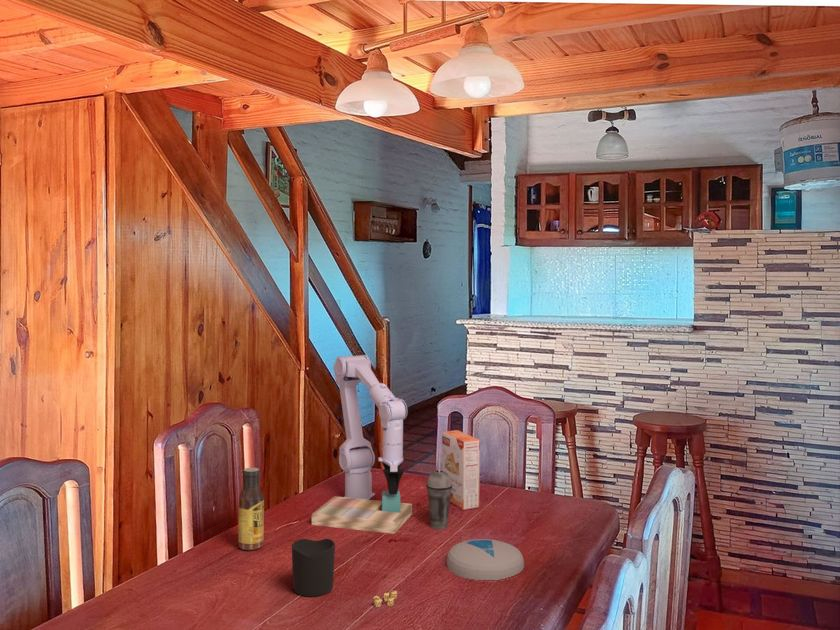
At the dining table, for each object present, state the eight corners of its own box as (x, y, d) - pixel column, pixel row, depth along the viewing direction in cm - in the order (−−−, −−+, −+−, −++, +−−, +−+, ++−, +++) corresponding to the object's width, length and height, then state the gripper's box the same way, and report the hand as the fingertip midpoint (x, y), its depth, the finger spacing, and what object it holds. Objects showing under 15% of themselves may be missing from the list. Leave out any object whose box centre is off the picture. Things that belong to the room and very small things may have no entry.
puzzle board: (311, 524, 203) (311, 514, 202) (334, 506, 218) (334, 496, 218) (394, 533, 196) (394, 522, 196) (411, 514, 212) (411, 503, 212)
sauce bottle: (257, 552, 182) (256, 474, 181) (234, 550, 184) (233, 472, 182) (268, 543, 189) (267, 467, 188) (245, 541, 190) (244, 465, 189)
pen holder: (314, 576, 169) (314, 533, 168) (343, 587, 163) (343, 543, 162) (282, 589, 162) (282, 545, 161) (311, 602, 156) (311, 556, 155)
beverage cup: (452, 522, 205) (453, 452, 204) (451, 532, 198) (452, 458, 197) (426, 521, 206) (427, 451, 205) (424, 530, 199) (425, 458, 197)
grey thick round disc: (461, 586, 165) (461, 564, 165) (437, 555, 183) (437, 535, 182) (536, 577, 170) (537, 556, 169) (506, 548, 188) (506, 529, 187)
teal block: (381, 511, 211) (382, 490, 211) (399, 511, 211) (399, 490, 211) (382, 517, 206) (382, 496, 206) (400, 517, 206) (400, 496, 206)
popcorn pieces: (396, 598, 159) (396, 589, 159) (397, 609, 154) (397, 600, 154) (373, 598, 159) (373, 590, 159) (373, 610, 154) (373, 601, 154)
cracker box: (440, 497, 228) (441, 430, 226) (457, 495, 230) (458, 429, 229) (462, 511, 215) (462, 440, 214) (479, 508, 218) (480, 438, 216)
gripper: (377, 436, 214) (377, 482, 215) (379, 449, 200) (379, 498, 201) (401, 436, 215) (401, 482, 216) (405, 449, 201) (404, 497, 201)
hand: (392, 490), depth 208 cm, fingers open, 7 cm apart
